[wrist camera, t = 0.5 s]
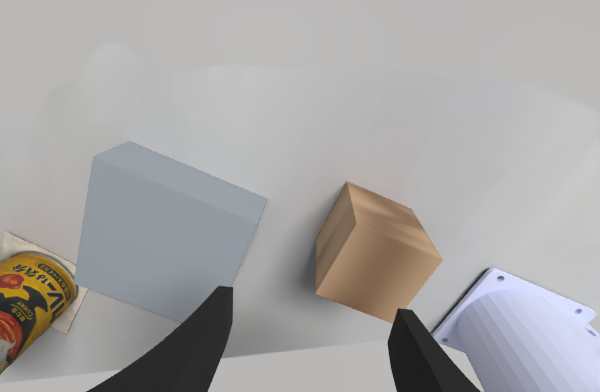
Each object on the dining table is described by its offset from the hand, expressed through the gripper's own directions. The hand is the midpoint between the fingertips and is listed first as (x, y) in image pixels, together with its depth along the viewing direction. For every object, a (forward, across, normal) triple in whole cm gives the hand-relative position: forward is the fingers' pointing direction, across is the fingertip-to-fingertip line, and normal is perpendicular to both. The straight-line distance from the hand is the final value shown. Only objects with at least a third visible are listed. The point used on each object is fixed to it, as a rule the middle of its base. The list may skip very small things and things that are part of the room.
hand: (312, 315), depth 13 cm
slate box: (+10, +10, +2) cm, 14 cm away
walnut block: (+10, -3, 0) cm, 10 cm away
